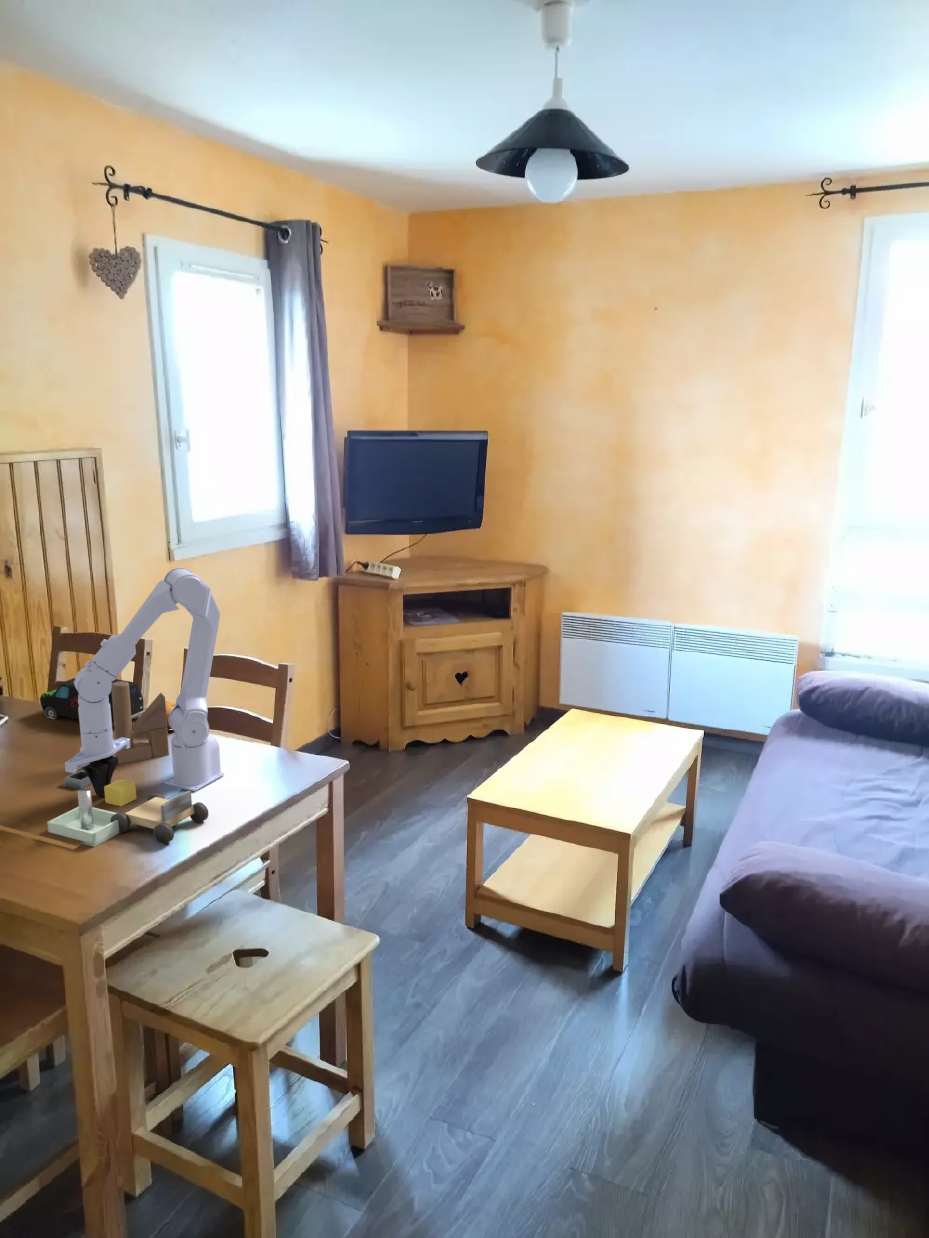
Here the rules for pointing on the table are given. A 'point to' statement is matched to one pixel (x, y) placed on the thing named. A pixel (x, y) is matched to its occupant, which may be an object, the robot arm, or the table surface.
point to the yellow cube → (120, 792)
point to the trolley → (162, 815)
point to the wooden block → (139, 726)
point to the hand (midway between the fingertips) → (102, 793)
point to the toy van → (67, 700)
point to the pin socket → (77, 780)
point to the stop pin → (85, 809)
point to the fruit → (168, 709)
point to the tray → (71, 828)
